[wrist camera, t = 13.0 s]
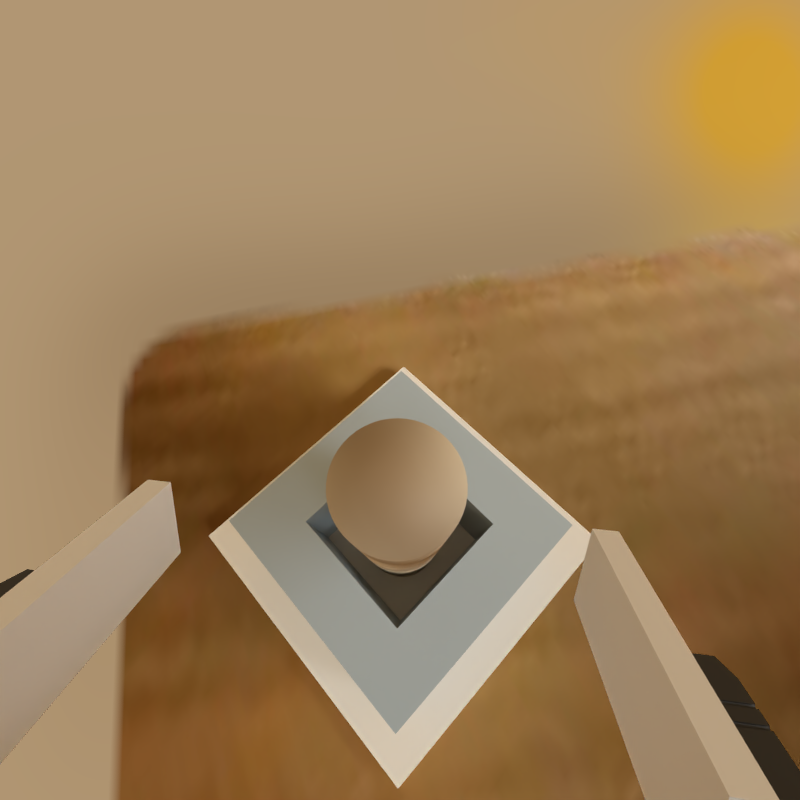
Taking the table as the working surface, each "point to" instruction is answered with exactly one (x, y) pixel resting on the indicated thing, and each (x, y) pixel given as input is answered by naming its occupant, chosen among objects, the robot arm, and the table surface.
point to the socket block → (403, 582)
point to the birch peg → (397, 493)
